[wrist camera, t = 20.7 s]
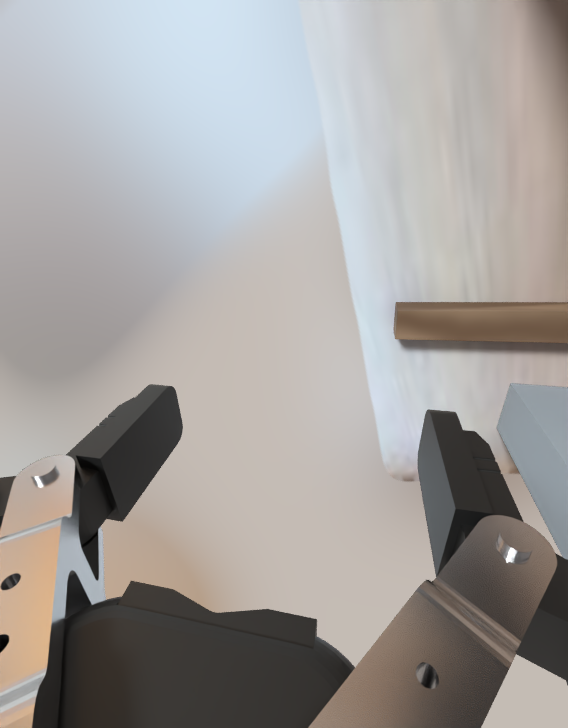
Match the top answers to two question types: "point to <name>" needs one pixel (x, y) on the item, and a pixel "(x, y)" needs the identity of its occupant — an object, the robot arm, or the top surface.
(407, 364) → the top surface
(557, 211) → the top surface
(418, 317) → the walnut batten
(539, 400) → the painted stand
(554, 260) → the top surface
